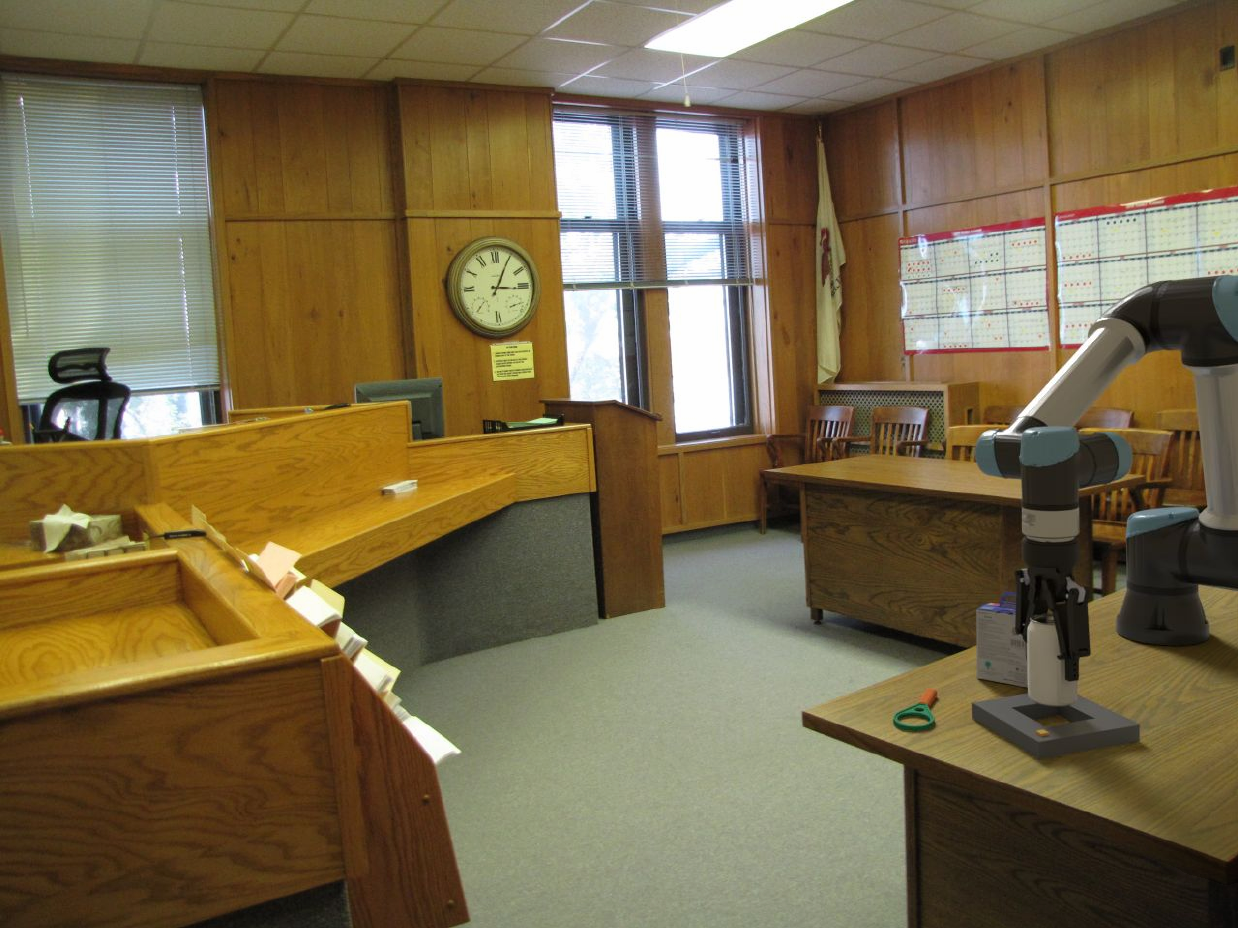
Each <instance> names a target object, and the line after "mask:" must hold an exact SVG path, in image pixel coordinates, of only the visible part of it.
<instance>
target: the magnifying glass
mask: <svg viewBox="0 0 1238 928" xmlns="http://www.w3.org/2000/svg"><path fill="white" fill-rule="evenodd" d="M937 696H938V691H937V690H936V689H934V688H926V689H925V690H924V692H923V694H922V696H921V697H920V699H919V700H918V702H917V703H915V704H914V705H911V706H908V707H906V708H904V709H901V710H899V711H897V712H895V713H894V715H893V717H892V724H893V726H894V727H896V728H898V729H899V730H902V731H906V732H907V731H908V732H923V731H927V730H930V729H932V728H933V727H934V726H935V725H936V721H935V719H936V717H935V715H934V714H933V712H932V711H931V709H930V708H931V707H932V705H933V702H934V701H935V699H936V698H937ZM904 718H919V719H920V718H921V719H924V720H927V721H928V722H927V723H923V724H919V725H918V724H917V725H915V724H907V723H903V722H901V721H900V720H901V719H904Z"/></svg>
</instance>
